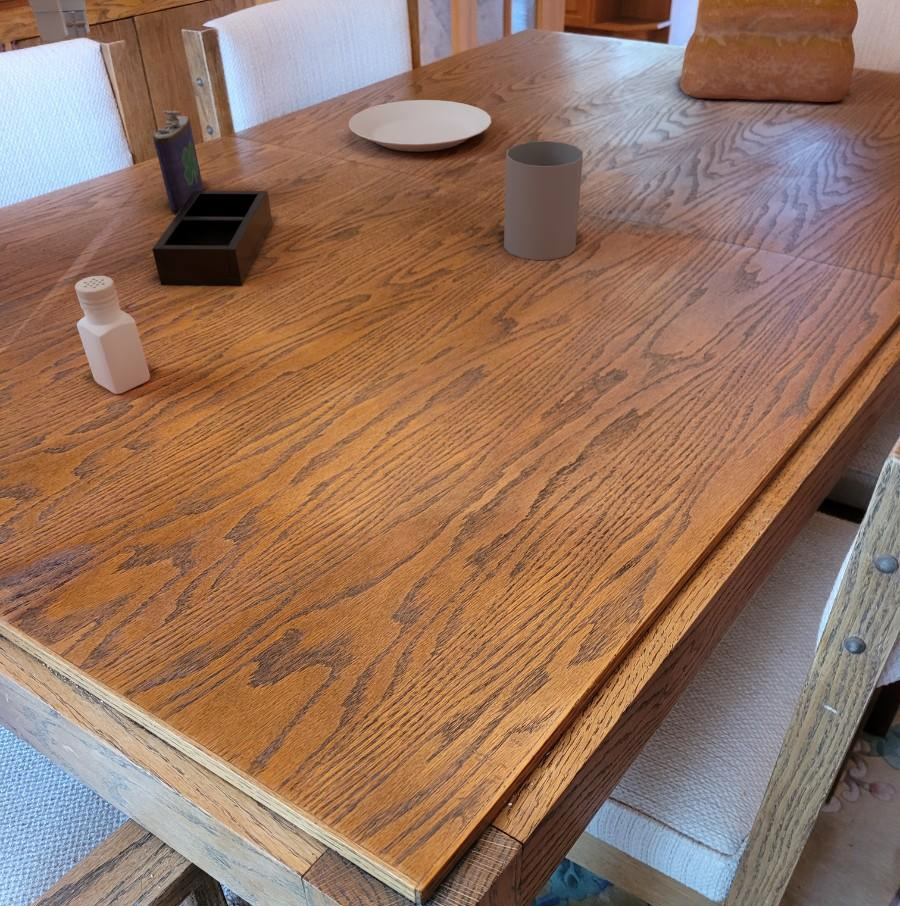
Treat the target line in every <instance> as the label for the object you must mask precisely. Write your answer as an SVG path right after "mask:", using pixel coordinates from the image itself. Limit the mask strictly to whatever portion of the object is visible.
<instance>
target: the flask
mask: <svg viewBox="0 0 900 906" xmlns="http://www.w3.org/2000/svg"><path fill="white" fill-rule="evenodd" d="M162 113H163V114H166V116H167V117H166V120H165V125H164V127H163V128H157V132H155V133H153V137H152V138H153V144H154V146H155V150H156V155H157V160H158V164H159V168H160V171H161V175H162V180H163V184H164V187H165V191H166V195H167V196H166V197H167V200H168V205H169V209H170V213H171V214H172V215H177V214H178V212H179V211H180V209H181V208H182V207H183V205H184V204H185V202H186V201H187V200H188V198H189V197H190V195H191V194H192V193H193V191H205V189H204V183H203V179H202V175H201V169H200V165H199V161H198V156H197V151H196V145H195V141H194V135H193V130H192V125H191V120H190V118H189V117H188V116H185V115H180V114H181V111H180V110H168V109H166V110H163V111H162Z"/></svg>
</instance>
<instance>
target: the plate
mask: <svg viewBox="0 0 900 906" xmlns="http://www.w3.org/2000/svg"><path fill="white" fill-rule="evenodd" d="M491 125H492V117H491V116H490V114H488V112H487V111H485V110H483V109H481V108H479V107H477V106H473V105H471V104H468V103H467V104H466V103H462V102H456V101H450V100H442V99H441V100H439V99H417V100H415V99H413V100H411V99H410V100H400V101H394V102H393V101H392V102H387V103H382V104H378V105H377V104H376V105H374V106H371V107H368V108H365V109H363V110H361V111H359V112H357V113H355V114H354V115H353V116H352V117H350V119H349V122H348V127H349V128H350V130H351V132H353V133H354V134H355V135H357V136H359V137H362V138H364V139H366V140H369V141H371V142H374V143H375V144H377V145H379V146H381V147H383V148H387V149H390V150H395V151H400V152H401V151H402V152H409V153H410V152H412V153H413V152H414V153H415V152H417V153H423V152H434V151H441V150H446V149H449V148H450V149H451V148H453V147H456V146H459V145H460V144H463V143H464V142H466V141H467V140H469V139H471V138H473V137H475V136H478V135H480V134H482V133H483V132H484V131H486V130H488V129H489V128H490V126H491Z"/></svg>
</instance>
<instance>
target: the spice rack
mask: <svg viewBox="0 0 900 906" xmlns="http://www.w3.org/2000/svg"><path fill="white" fill-rule="evenodd" d="M272 218H273V217H272V211H271V204H270V198H269V191H268V190H204V191H193V193H192V194H191V195H190V197H189V198H188V200H187V201H186V202H185V204H184V205H183V207H182V208H181V209H180V211H179V212H178V214H175V216H174V218H173V219H172V220H171V222H170V223H169V224H168V226H167V228H166V229H165V230H164V231H163V233H162V235H161V236H160V237H159V238H158V240H157V241H156V242H155V244H154V246H152V248H151V250H152V254H153V258H154V262H155V267H156V271H157V275H158V279H159V283H160V285H161V286H230V287H231V286H232V287H233V286H237V287H239V286H240V287H241V286H243V284H244V282H245V280H246V278H247V276H248V275H249V272H250V271H251V268H252V266H253V264H254V263H255V260H256V259H257V257H258V255H259V253H260V251H261V249H262V247H263V244H264V243H265V242H266V239H267V237H268V236H269V233H270V231H271V229H272V227H273V220H272Z"/></svg>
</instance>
